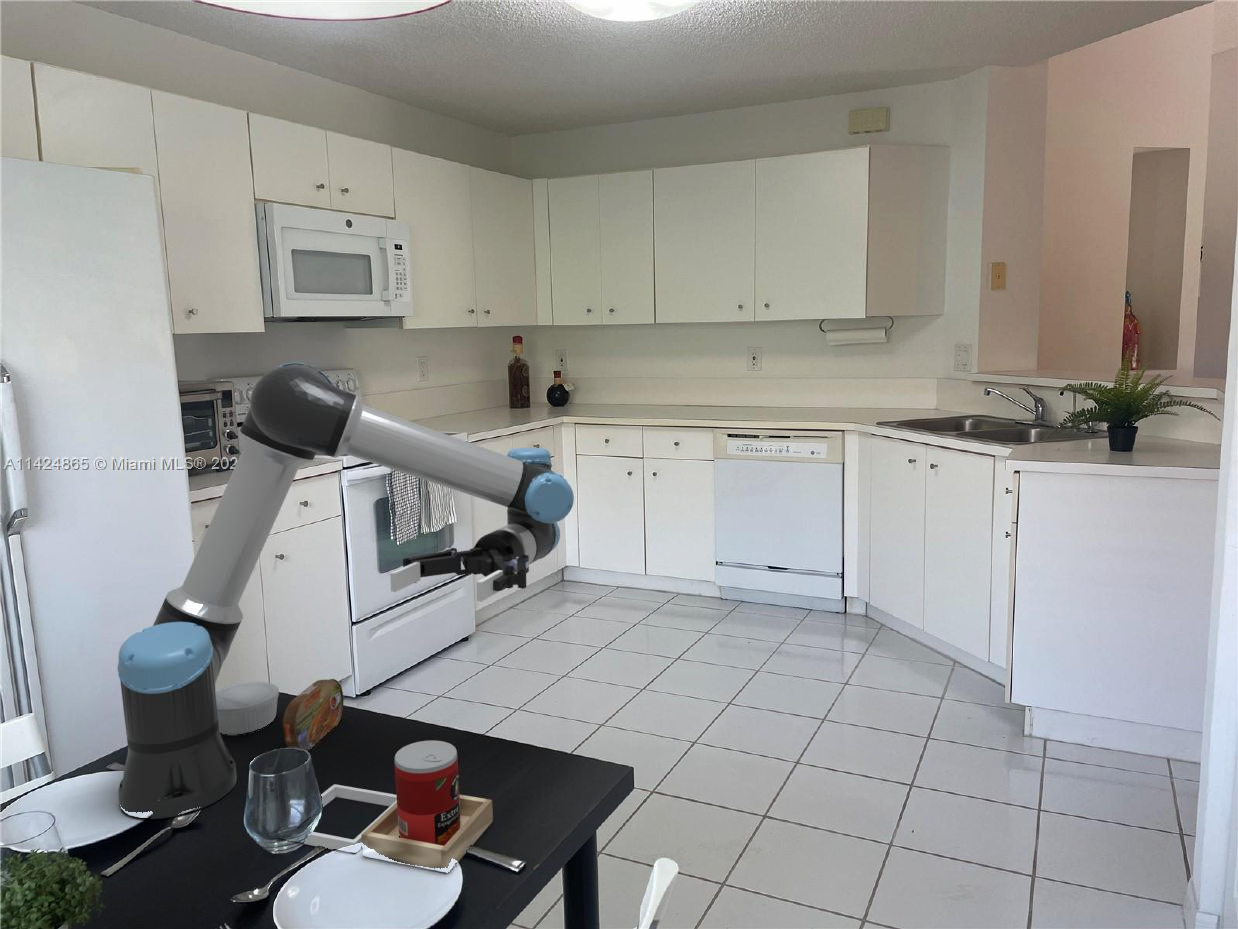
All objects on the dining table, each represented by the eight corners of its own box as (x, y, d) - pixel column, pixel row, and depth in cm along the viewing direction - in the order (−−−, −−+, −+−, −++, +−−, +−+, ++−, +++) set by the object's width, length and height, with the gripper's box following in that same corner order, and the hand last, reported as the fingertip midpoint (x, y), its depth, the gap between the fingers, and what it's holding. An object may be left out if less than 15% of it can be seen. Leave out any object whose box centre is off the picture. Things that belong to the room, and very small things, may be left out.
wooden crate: (362, 856, 109) (361, 834, 108) (414, 807, 120) (413, 786, 119) (447, 873, 105) (446, 851, 104) (493, 821, 116) (492, 800, 116)
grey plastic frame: (279, 839, 113) (278, 828, 113) (335, 794, 124) (334, 784, 124) (355, 854, 109) (354, 843, 109) (406, 806, 120) (405, 796, 120)
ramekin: (196, 740, 142) (193, 709, 141) (225, 711, 153) (223, 682, 152) (266, 738, 142) (263, 707, 141) (290, 709, 153) (287, 680, 152)
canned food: (447, 854, 108) (443, 770, 106) (388, 847, 109) (382, 765, 108) (470, 820, 115) (466, 742, 114) (413, 814, 117) (409, 737, 115)
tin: (300, 760, 134) (295, 709, 133) (281, 759, 135) (277, 707, 133) (346, 718, 149) (343, 671, 147) (329, 717, 149) (326, 670, 148)
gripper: (576, 582, 137) (517, 622, 117) (436, 568, 145) (359, 604, 125) (575, 535, 136) (516, 568, 116) (435, 523, 144) (357, 553, 124)
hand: (435, 587), depth 120 cm, fingers open, 13 cm apart
